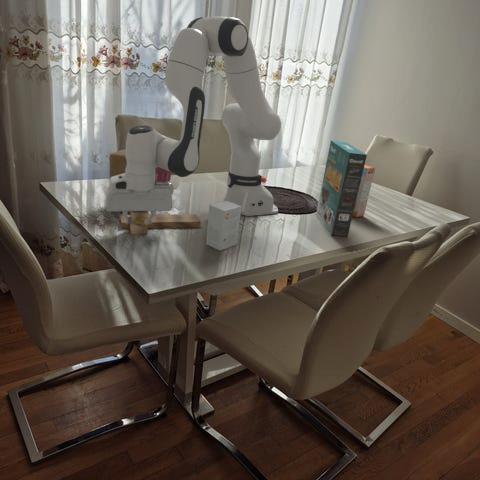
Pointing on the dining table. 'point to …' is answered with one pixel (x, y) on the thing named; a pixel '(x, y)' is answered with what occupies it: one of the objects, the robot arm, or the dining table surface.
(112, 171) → the wooden block
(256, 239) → the dining table surface
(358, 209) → the cracker box
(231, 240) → the small box
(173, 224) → the plank
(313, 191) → the dining table surface
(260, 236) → the dining table surface
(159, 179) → the plant pot
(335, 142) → the cake mix box
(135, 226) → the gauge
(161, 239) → the dining table surface
